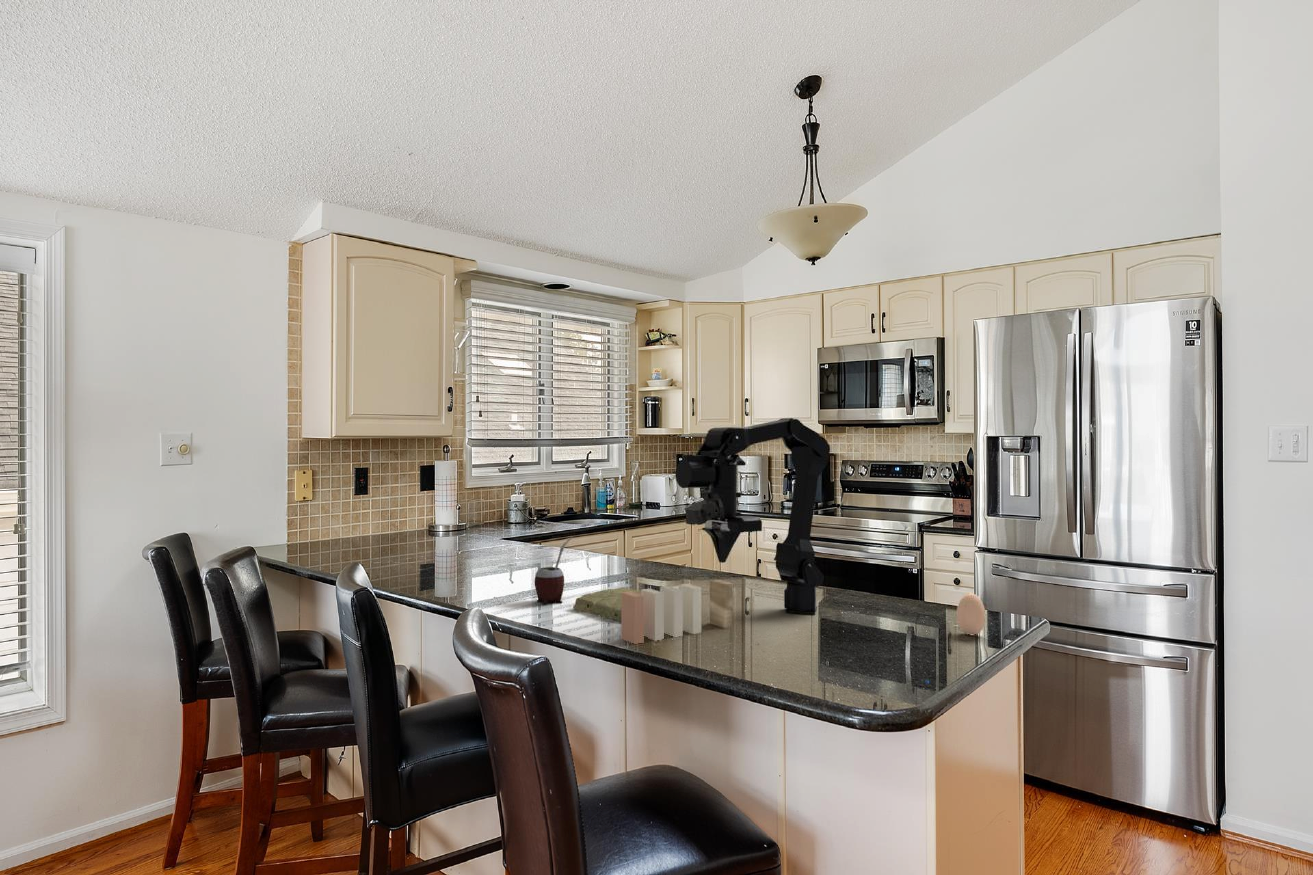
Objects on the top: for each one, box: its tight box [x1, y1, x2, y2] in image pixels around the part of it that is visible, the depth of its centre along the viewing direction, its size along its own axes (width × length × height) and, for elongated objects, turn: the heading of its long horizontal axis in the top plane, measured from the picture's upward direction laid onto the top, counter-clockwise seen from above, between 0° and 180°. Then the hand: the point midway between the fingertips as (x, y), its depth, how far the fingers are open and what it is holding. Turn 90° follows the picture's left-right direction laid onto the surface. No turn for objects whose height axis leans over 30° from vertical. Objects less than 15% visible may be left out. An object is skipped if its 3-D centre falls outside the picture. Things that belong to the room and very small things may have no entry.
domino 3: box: [659, 585, 684, 638], centre depth 143 cm, size 2×5×9 cm, turn 33°
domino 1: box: [620, 591, 645, 645], centre depth 138 cm, size 2×5×9 cm, turn 33°
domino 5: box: [709, 579, 733, 629], centre depth 150 cm, size 2×5×9 cm, turn 33°
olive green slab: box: [572, 586, 641, 621], centre depth 164 cm, size 19×20×4 cm
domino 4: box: [678, 583, 702, 635], centre depth 146 cm, size 2×5×9 cm, turn 33°
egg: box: [956, 592, 987, 635], centre depth 142 cm, size 5×5×8 cm
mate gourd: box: [534, 537, 572, 606], centre depth 172 cm, size 8×8×15 cm
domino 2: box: [640, 588, 665, 642], centre depth 141 cm, size 2×5×9 cm, turn 33°
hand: (722, 562), depth 150 cm, fingers closed
